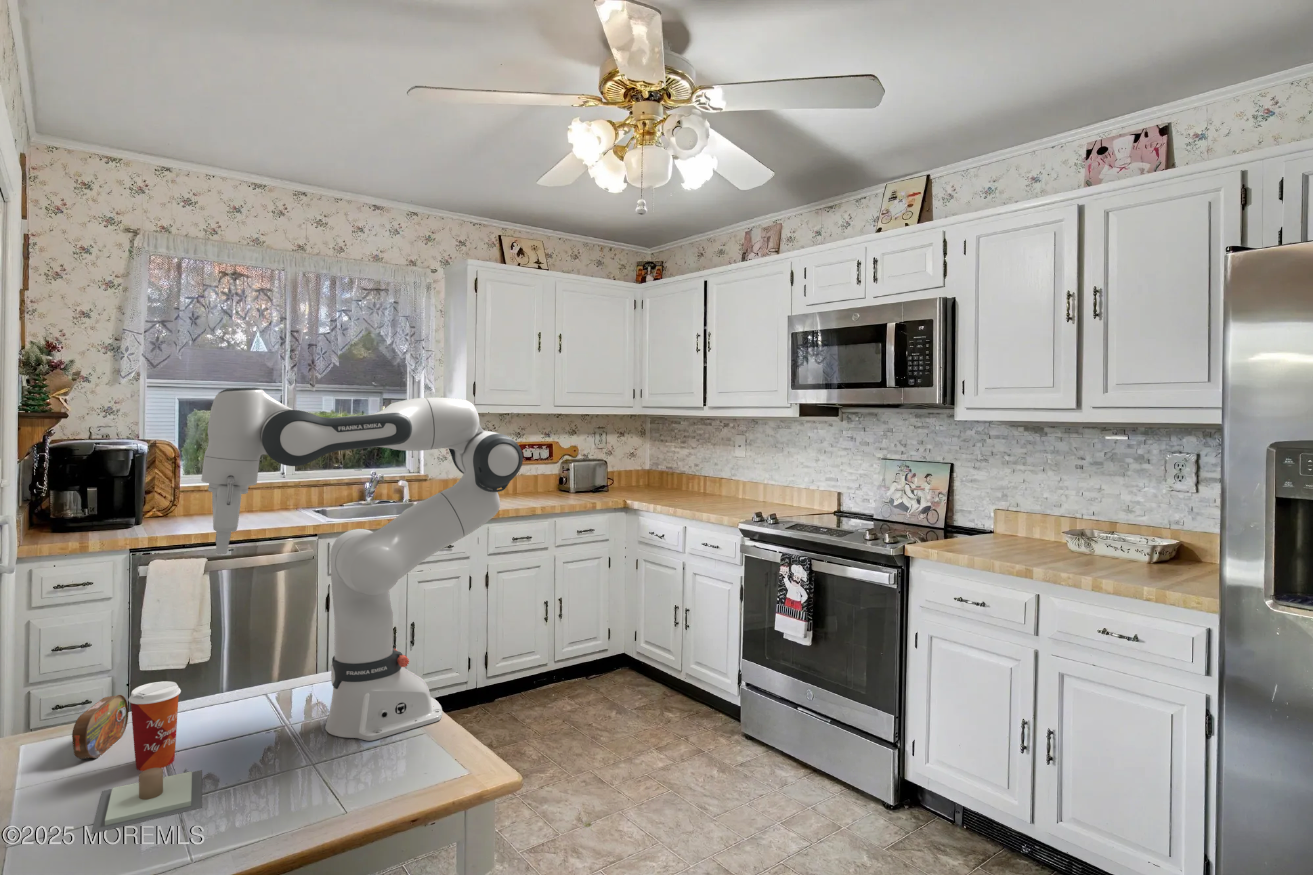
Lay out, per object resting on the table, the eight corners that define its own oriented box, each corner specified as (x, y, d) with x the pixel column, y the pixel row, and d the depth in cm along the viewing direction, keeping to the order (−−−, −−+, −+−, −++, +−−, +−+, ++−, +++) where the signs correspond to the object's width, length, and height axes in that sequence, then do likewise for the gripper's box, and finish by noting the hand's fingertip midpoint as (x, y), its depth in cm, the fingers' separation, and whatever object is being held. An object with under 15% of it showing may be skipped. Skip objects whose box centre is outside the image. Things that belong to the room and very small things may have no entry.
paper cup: (154, 778, 124) (154, 698, 124) (117, 773, 126) (116, 694, 125) (192, 757, 132) (191, 681, 131) (156, 752, 133) (156, 677, 133)
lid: (191, 775, 125) (191, 750, 124) (191, 805, 115) (190, 778, 115) (112, 792, 119) (112, 766, 119) (104, 825, 109) (104, 797, 109)
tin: (88, 766, 128) (88, 719, 128) (68, 768, 127) (67, 721, 127) (130, 729, 143) (130, 687, 142) (112, 731, 142) (112, 688, 142)
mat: (202, 771, 127) (202, 769, 127) (202, 810, 115) (202, 807, 115) (102, 793, 119) (102, 790, 119) (91, 836, 107) (91, 833, 107)
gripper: (252, 480, 125) (242, 559, 125) (247, 470, 143) (238, 539, 142) (210, 477, 122) (199, 559, 122) (210, 467, 139) (201, 538, 139)
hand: (220, 548), depth 132 cm, fingers open, 8 cm apart
